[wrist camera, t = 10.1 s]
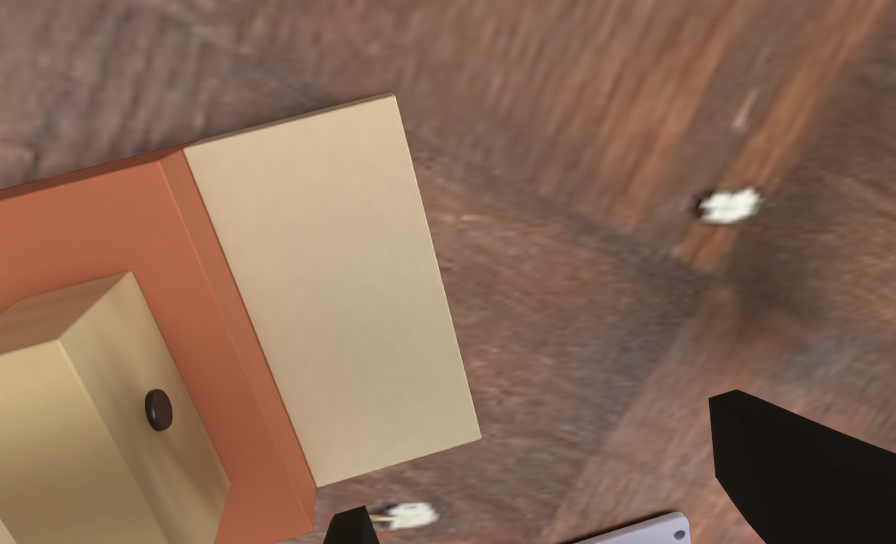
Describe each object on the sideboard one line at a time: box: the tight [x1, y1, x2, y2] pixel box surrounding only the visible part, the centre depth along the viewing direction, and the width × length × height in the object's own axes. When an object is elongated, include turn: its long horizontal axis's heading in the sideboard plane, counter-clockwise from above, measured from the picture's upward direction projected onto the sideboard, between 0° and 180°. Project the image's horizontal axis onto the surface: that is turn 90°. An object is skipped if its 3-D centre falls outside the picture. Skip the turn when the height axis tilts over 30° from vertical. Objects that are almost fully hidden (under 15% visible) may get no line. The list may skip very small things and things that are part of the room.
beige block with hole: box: [0, 271, 231, 544], centre depth 14 cm, size 7×3×4 cm, turn 13°
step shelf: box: [0, 92, 481, 544], centre depth 17 cm, size 12×18×6 cm, turn 103°
